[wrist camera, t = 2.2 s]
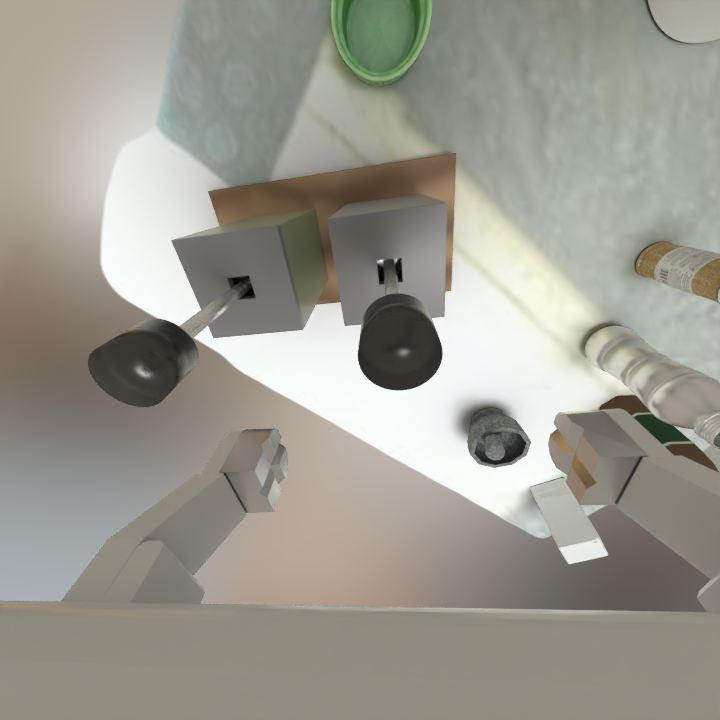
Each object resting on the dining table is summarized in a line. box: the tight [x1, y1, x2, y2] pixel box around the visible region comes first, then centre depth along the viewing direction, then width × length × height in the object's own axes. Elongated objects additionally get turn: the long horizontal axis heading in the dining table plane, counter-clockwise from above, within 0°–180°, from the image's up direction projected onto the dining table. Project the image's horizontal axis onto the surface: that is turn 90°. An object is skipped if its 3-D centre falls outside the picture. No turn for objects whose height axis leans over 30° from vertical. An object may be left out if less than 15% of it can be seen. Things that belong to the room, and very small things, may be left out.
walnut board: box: [208, 153, 456, 304], centre depth 39 cm, size 16×30×2 cm, turn 97°
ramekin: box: [331, 0, 432, 86], centre depth 28 cm, size 9×9×4 cm
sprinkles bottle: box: [636, 242, 720, 304], centre depth 33 cm, size 5×5×13 cm
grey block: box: [327, 194, 447, 326], centre depth 31 cm, size 9×9×16 cm
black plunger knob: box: [88, 276, 255, 407], centre depth 22 cm, size 7×7×19 cm
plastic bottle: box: [585, 326, 720, 449], centre depth 37 cm, size 6×7×20 cm
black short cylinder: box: [358, 258, 442, 390], centre depth 21 cm, size 7×7×19 cm
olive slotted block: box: [171, 208, 328, 338], centre depth 33 cm, size 9×9×16 cm
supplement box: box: [530, 478, 608, 564], centre depth 60 cm, size 7×7×13 cm
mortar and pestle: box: [467, 407, 531, 468], centre depth 50 cm, size 11×9×12 cm
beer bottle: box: [600, 396, 719, 472], centre depth 42 cm, size 8×8×24 cm
